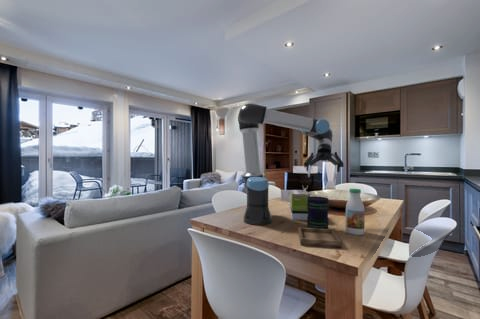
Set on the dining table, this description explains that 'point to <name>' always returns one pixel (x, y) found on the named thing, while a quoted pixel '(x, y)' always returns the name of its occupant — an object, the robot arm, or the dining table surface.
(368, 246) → the dining table surface
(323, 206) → the storage jar
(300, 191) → the tea box
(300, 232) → the tray
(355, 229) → the milk bottle
